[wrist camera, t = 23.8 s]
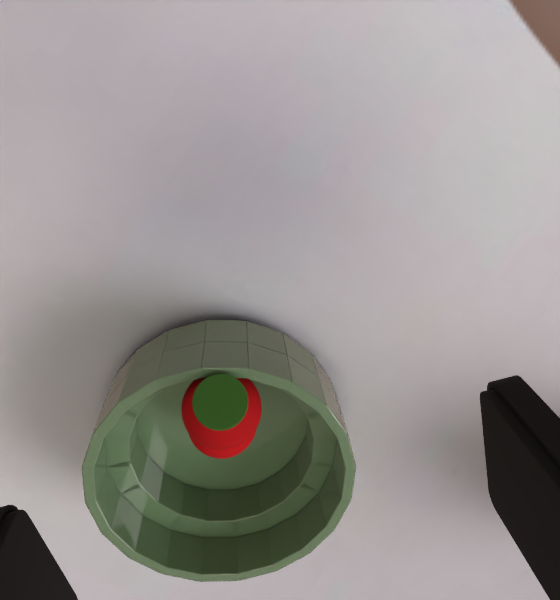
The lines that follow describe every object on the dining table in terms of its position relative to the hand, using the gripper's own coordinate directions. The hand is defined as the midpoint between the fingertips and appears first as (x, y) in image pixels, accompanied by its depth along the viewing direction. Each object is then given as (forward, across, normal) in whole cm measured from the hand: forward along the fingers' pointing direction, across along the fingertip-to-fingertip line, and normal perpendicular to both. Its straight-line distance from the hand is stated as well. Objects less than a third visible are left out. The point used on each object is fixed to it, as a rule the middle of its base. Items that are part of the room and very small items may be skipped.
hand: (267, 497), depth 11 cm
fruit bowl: (+20, +4, +12) cm, 23 cm away
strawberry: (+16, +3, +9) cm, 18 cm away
